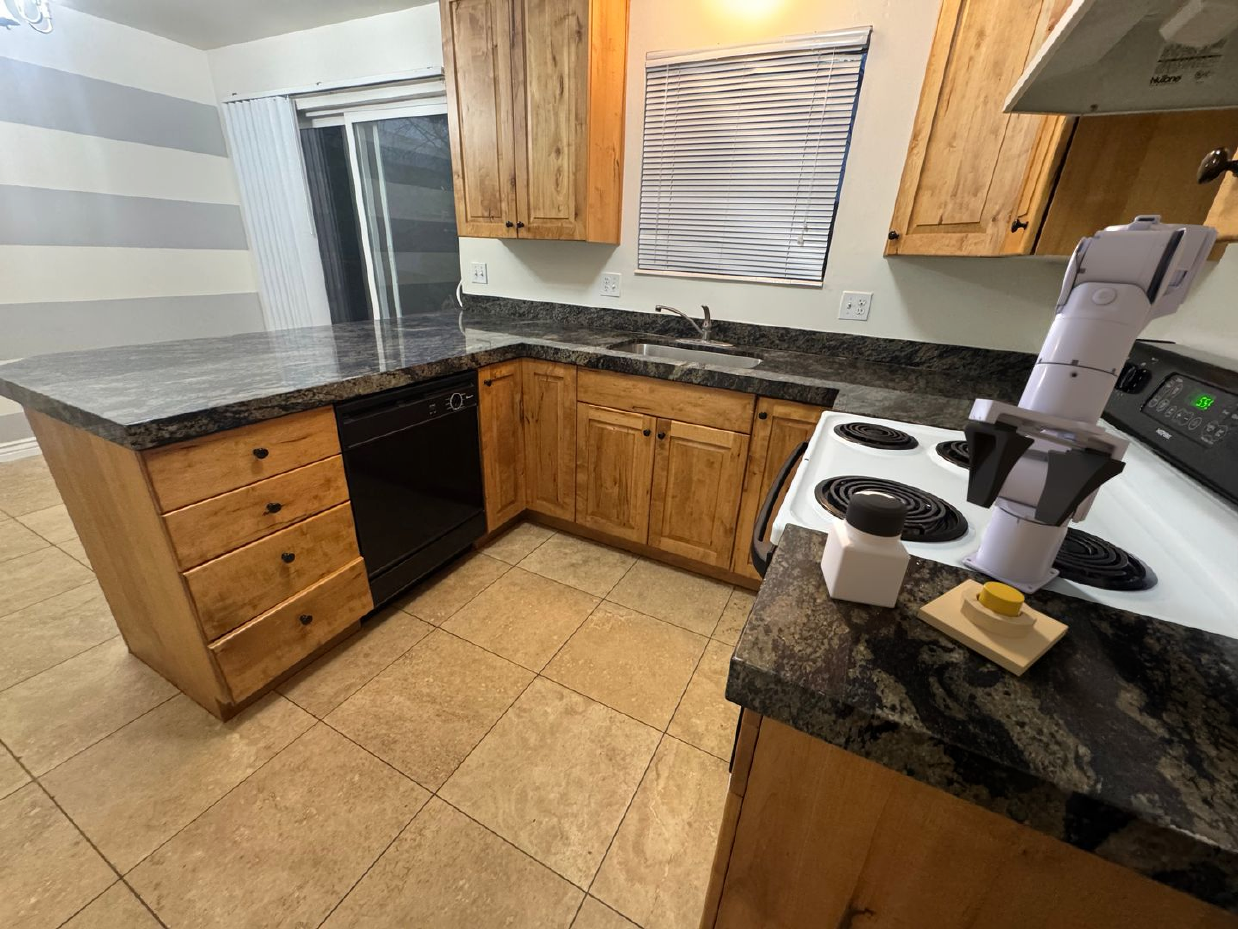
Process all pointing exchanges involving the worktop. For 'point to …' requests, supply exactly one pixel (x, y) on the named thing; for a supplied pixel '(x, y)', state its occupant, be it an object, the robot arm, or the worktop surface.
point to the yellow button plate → (993, 627)
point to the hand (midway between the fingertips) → (1012, 514)
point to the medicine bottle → (867, 551)
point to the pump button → (1001, 599)
